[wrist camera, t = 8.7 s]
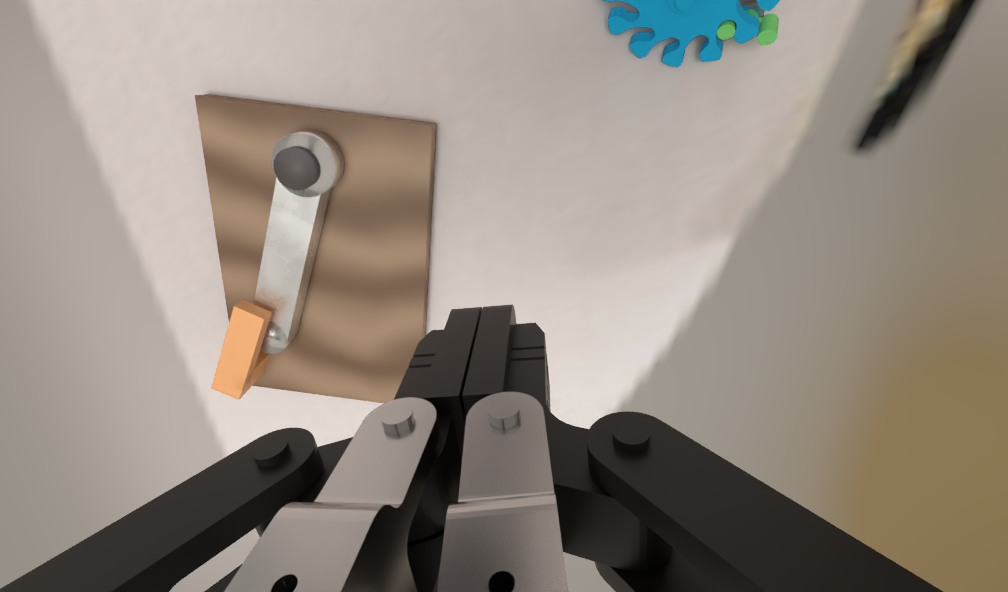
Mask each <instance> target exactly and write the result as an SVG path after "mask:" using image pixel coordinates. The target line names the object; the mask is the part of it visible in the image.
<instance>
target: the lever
mask: <svg viewBox="0 0 1008 592" xmlns="http://www.w3.org/2000/svg"><path fill="white" fill-rule="evenodd" d="M293 146H301V147H305V148H307V149H308V150H310V151H311V152H312V153H313V154H314V155H315V156H316V157H317V159H318V161H319V163H320V168H321V173H320V177H319V179H318V181H317V182H316V183H315V184H314V185H312V186H310V187H308V188H306V189H304V190H292V189H289V188H287V187H286V186H284V185H283V184H282V183H281V182H280V181H279V180H278V178H276V184H275V189H274V195H273V200H272V206H271V211H270V217H269V222H268V228H267V233H266V239H265V244H264V250H263V255H262V261H261V266H260V272H259V277H258V283H257V288H256V294H255V299H254V305H257V306H259V307H261V308H263V309H266V310H268V311H270V312H272V314H271V317H270V320H269V323H268V326H267V330H266V333H265V336H264V339H263V342H262V345H261V348H260V351H262V352H265V353H269V354H276V353H279V352H281V351H283V350H284V349H285V348H286V346H287V345H288V344H289V343H290V342H291V341H292V340H293V339H294V338H295V336H296V335H297V332H298V328H299V324H300V319H301V315H302V311H303V307H304V302H305V298H306V294H307V290H308V285H309V281H310V277H311V273H312V268H313V264H314V260H315V256H316V251H317V247H318V243H319V239H320V234H321V230H322V226H323V222H324V217H325V213H326V209H327V204H328V200H329V196H330V192H331V188H333V187H335V186H336V185H337V184H338V183H339V181H340V180H341V178H342V176H343V173H344V159H343V156H342V153H341V151H340V149H339V147H338V146H337V144H336V143H335V142H334V141H333V140H332V139H331V138H330V137H329V136H327V135H326V134H324V133H322V132H319V131H315V130H304V131H300V132H296V133H292V134H288V135H286V136H284V137H282V138H281V139H280V140H279V141H278V142H277V143H276V144H275V146H274V148H273V151H272V157H271V161H272V167H273V171H274V165H273V164H274V159H275V157H276V155H277V154H278V153H279V152H280V151H281V150H283V149H286V148H289V147H293ZM274 173H275V172H274ZM275 176H276V174H275ZM276 177H277V176H276Z"/></svg>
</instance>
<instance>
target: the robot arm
mask: <svg viewBox="0 0 1008 592" xmlns="http://www.w3.org/2000/svg"><path fill="white" fill-rule="evenodd" d="M254 528H256V530H257V532H258V534H259V536H260V539H259V540H258V542H257V544H256V545H255V547H254V548H253V549H252V551H251V552H250V554H249V555H248V557H247V558H246V560H245V561H244V563H243V564H241V565H240V566H239V567H237V568H236V569H235V570H233V571H232V572H230V573H229V574H228V575H227V576H225V577H224V578H222V579H221V580H220V581H219V582H217V583H216V584H214V585H213V586H211V587H210V588H209V589H207V590H206V591H205V592H568V586H567V580H566V571H565V563H564V556H563V552H566V553H569V554H572V555H575V556H579V557H582V558H585V559H589V560H592V561H595V565H596V568H597V570H598V571H599V573H600V575H601V576H602V577H603V579H604V580H605V581H606V582H607V583H608V584H609V585H610V586H611V587H612V588H613V589H614V590H615V591H616V592H943V591H941V590H940V589H938V588H936V587H935V586H933V585H931V584H929V583H928V582H926V581H925V580H923V579H921V578H920V577H918V576H916V575H915V574H913V573H912V572H910V571H908V570H907V569H905V568H903V567H901V566H900V565H898V564H896V563H895V562H893V561H892V560H890V559H888V558H887V557H885V556H883V555H882V554H880V553H878V552H877V551H875V550H874V549H872V548H870V547H868V546H867V545H865V544H864V543H862V542H860V541H859V540H857V539H855V538H854V537H852V536H850V535H849V534H847V533H845V532H844V531H842V530H841V529H839V528H837V527H835V526H834V525H832V524H831V523H829V522H827V521H826V520H824V519H822V518H821V517H819V516H817V515H816V514H814V513H812V512H811V511H809V510H808V509H806V508H804V507H803V506H801V505H799V504H798V503H796V502H794V501H793V500H791V499H789V498H788V497H786V496H784V495H783V494H781V493H779V492H778V491H776V490H775V489H773V488H771V487H770V486H768V485H766V484H764V483H763V482H761V481H760V480H758V479H756V478H755V477H753V476H751V475H750V474H748V473H747V472H745V471H743V470H742V469H740V468H738V467H736V466H735V465H733V464H732V463H730V462H728V461H727V460H725V459H723V458H722V457H720V456H718V455H717V454H715V453H714V452H712V451H710V450H709V449H707V448H705V447H703V446H702V445H700V444H699V443H697V442H695V441H694V440H692V439H690V438H689V437H687V436H685V435H684V434H682V433H681V432H679V431H677V430H676V429H674V428H672V427H671V426H669V425H667V424H666V423H664V422H662V421H661V420H659V419H657V418H655V417H653V416H650V415H647V414H643V413H637V412H617V413H612V414H609V415H606V416H604V417H602V418H600V419H599V420H597V421H596V422H595V423H594V424H593V425H592V426H591V428H590V429H585V428H580V427H575V426H572V425H569V424H566V423H564V422H562V421H560V420H559V419H557V418H556V417H555V416H554V415H553V414H552V413H551V412H550V385H549V375H548V365H547V354H546V344H545V333H544V332H543V331H542V330H541V329H540V327H539V326H538V325H537V324H536V323H526V324H516V317H515V310H514V306H513V305H502V306H489V307H483V309H482V307H477V308H464V309H452V310H451V312H450V315H449V318H448V321H447V323H446V326H445V329H444V330H432V331H431V332H430V333H428V334H427V335H426V336H425V337H424V338H423V339H422V340H421V341H419V343H418V345H417V347H416V349H415V352H414V354H413V358H412V359H411V361H410V363H409V368H407V370H406V372H405V375H404V377H403V379H402V382H401V384H400V386H399V388H398V391H397V393H396V395H395V398H394V400H392V401H389V402H387V403H385V404H383V405H381V406H379V407H377V408H376V409H374V410H373V411H372V412H370V413H369V414H368V415H367V416H366V418H365V419H364V421H363V422H362V424H361V425H360V427H359V429H358V430H357V432H356V434H355V435H354V437H352V438H348V439H345V440H342V441H338V442H334V443H331V444H327V445H323V446H320V447H317V444H316V442H315V439H314V437H313V435H312V434H311V433H310V432H309V431H307V430H305V429H302V428H286V429H281V430H277V431H274V432H271V433H268V434H266V435H264V436H262V437H260V438H258V439H256V440H254V441H253V442H251V443H249V444H248V445H246V446H244V447H242V448H241V449H239V450H237V451H236V452H234V453H232V454H230V455H229V456H227V457H225V458H224V459H222V460H220V461H219V462H217V463H215V464H214V465H212V466H210V467H208V468H206V469H205V470H203V471H201V472H200V473H198V474H196V475H195V476H193V477H191V478H189V479H188V480H186V481H184V482H182V483H181V484H179V485H177V486H176V487H174V488H172V489H171V490H169V491H167V492H165V493H164V494H162V495H160V496H159V497H157V498H155V499H153V500H152V501H150V502H148V503H147V504H145V505H143V506H141V507H140V508H138V509H136V510H135V511H133V512H131V513H129V514H128V515H126V516H124V517H123V518H121V519H119V520H117V521H116V522H114V523H112V524H111V525H109V526H107V527H105V528H104V529H102V530H100V531H99V532H97V533H95V534H93V535H92V536H90V537H88V538H87V539H85V540H83V541H81V542H80V543H78V544H76V545H75V546H73V547H71V548H70V549H68V550H66V551H64V552H63V553H61V554H59V555H58V556H56V557H54V558H52V559H51V560H49V561H47V562H46V563H44V564H42V565H40V566H39V567H37V568H35V569H34V570H32V571H30V572H28V573H27V574H25V575H23V576H22V577H20V578H18V579H16V580H15V581H13V582H11V583H10V584H8V585H6V586H4V587H3V588H1V589H0V592H169V591H170V590H171V588H172V587H173V586H174V585H175V584H176V583H178V582H179V581H180V580H181V579H183V578H184V577H186V576H187V575H188V574H190V573H191V572H193V571H194V570H195V569H197V568H198V567H200V566H201V565H203V564H204V563H206V562H207V561H208V560H210V559H211V558H213V557H214V556H216V555H217V554H218V553H220V552H221V551H223V550H224V549H225V548H227V547H228V546H230V545H231V544H232V543H234V542H236V541H237V540H238V539H240V538H241V537H243V536H244V535H245V534H247V533H248V532H250V531H251V530H253V529H254Z"/></svg>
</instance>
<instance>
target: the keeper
mask: <svg viewBox="0 0 1008 592" xmlns="http://www.w3.org/2000/svg"><path fill="white" fill-rule="evenodd" d="M271 314H272V312H270V311H268V310H266V309H263V308H261V307H259V306H257V305H254V304H252V303H250V302H248V301H245V300H243V299H242V300H241V301H240V302H239V303H237V304H236V305H235V306H234V307H233V311H232V315H231V318H230V322H229V326H228V329H227V333H226V337H225V340H224V344H223V347H222V351H221V355H220V358H219V362H218V366H217V369H216V373H215V377H214V380H213V384H212V387H211V388H212V389H214V390H217V391H219V392H221V393H224V394H226V395H229V396H231V397H234V398H236V399H238V400H239V399H240V398H241V397H242V396H243V395H244V394H245V393H246V392H247V391H248V389H249V388H250V387H251V386H252V385H253V384H254V383H255V382H256V381H257V380H258V378H259V377H260V376H261V375H262V374H263V373H264V370H265V367H266V364H267V361H268V358H269V355H270V354H269V353H265V352H262V351H260V348H261V345H262V342H263V339H264V336H265V333H266V330H267V326H268V323H269V320H270V317H271Z"/></svg>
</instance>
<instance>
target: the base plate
mask: <svg viewBox="0 0 1008 592" xmlns="http://www.w3.org/2000/svg"><path fill="white" fill-rule="evenodd" d="M195 99H196V106H197V113H198V119H199V126H200V132H201V139H202V146H203V152H204V159H205V166H206V172H207V179H208V185H209V192H210V199H211V205H212V212H213V219H214V225H215V232H216V238H217V245H218V252H219V258H220V265H221V272H222V278H223V285H224V291H225V298H226V305H227V311H228V318H229V322H230V318H231V315H232V311H233V307H234V306H235V305H236V304H237V303H239V302H240V301H241V300H242V299H243V300H245V301H248V302H250V303H252V304H254V299H255V294H256V288H257V283H258V277H259V272H260V266H261V261H262V255H263V250H264V244H265V239H266V233H267V228H268V222H269V217H270V211H271V206H272V200H273V195H274V189H275V184H276V178H278V180H279V181H280V182H281V183H282V184H283V185H284V186H286V187H287V188H289V189H292V190H304V189H306V188H308V187H310V186H312V185H314V184H315V183H316V182H317V181H318V179H319V177H320V173H321V168H320V163H319V161H318V159H317V157H316V156H315V155H314V154H313V153H312V152H311V151H310V150H308V149H307V148H305V147H301V146H293V147H289V148H286V149H283V150H281V151H280V152H279V153H278V154H277V155H276V157H275V159H274V164H273V165H274V171H273V167H272V161H271V157H272V151H273V148H274V146H275V144H276V143H277V142H278V141H279V140H280V139H281V138H282V137H284V136H286V135H288V134H292V133H296V132H300V131H304V130H315V131H319V132H322V133H324V134H326V135H327V136H329V137H330V138H331V139H332V140H333V141H334V142H335V143H336V144H337V146H338V147H339V149H340V151H341V153H342V156H343V159H344V173H343V176H342V178H341V180H340V181H339V183H338V184H337V185H336V186H335V187H333V188H331V192H330V196H329V200H328V204H327V209H326V213H325V217H324V222H323V226H322V230H321V234H320V239H319V243H318V247H317V251H316V256H315V260H314V264H313V268H312V273H311V277H310V281H309V285H308V290H307V294H306V298H305V302H304V307H303V311H302V315H301V319H300V324H299V328H298V332H297V335H296V336H295V338H294V339H293V340H292V341H291V342H290V343H289V344H288V345H287V346H286V348H285V349H284V350H283V351H281V352H279V353H276V354H270V355H269V358H268V361H267V364H266V367H265V370H264V373H263V374H262V375H261V376H260V377H259V378H258V380H257V381H256V382H255V383H254V384H253V385H252V386H259V387H267V388H274V389H282V390H289V391H297V392H304V393H311V394H319V395H326V396H334V397H341V398H349V399H356V400H364V401H371V402H379V403H387V402H389V401H392V400H394V398H395V395H396V393H397V391H398V388H399V386H400V384H401V382H402V379H403V377H404V375H405V372H406V370H407V368H409V363H410V361H411V359H412V358H413V354H414V352H415V349H416V347H417V345H418V343H419V341H421V340H422V339H423V338H424V337H425V335H426V315H427V296H428V276H429V256H430V236H431V216H432V196H433V176H434V156H435V136H436V124H435V123H427V122H419V121H412V120H404V119H396V118H388V117H380V116H372V115H365V114H357V113H349V112H341V111H333V110H326V109H318V108H310V107H302V106H294V105H286V104H279V103H271V102H263V101H255V100H247V99H239V98H232V97H224V96H216V95H195ZM274 172H275V173H274ZM275 174H276V176H277V177H276V176H275Z"/></svg>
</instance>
